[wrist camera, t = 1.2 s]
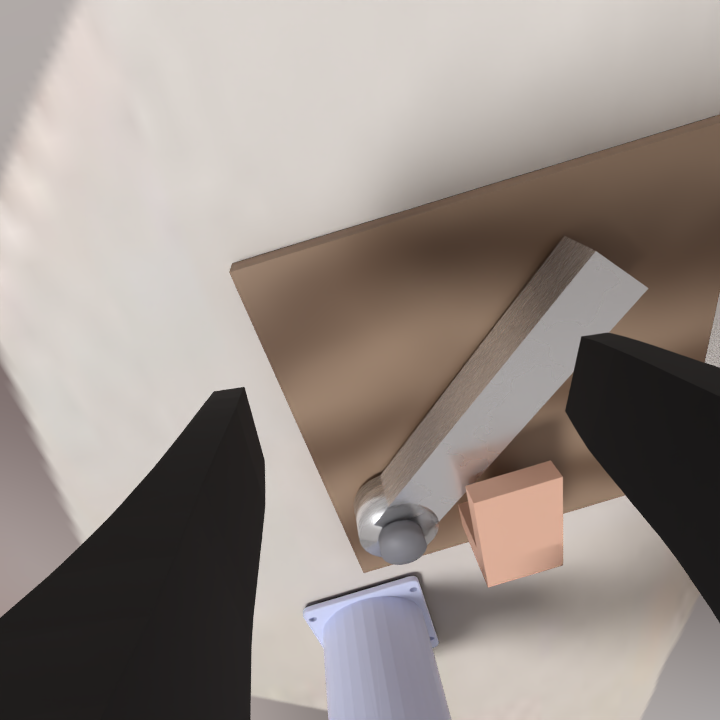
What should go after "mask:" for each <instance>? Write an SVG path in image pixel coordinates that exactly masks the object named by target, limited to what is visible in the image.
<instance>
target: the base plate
mask: <svg viewBox="0 0 720 720" xmlns="http://www.w3.org/2000/svg"><path fill="white" fill-rule="evenodd" d="M564 236H566V237H568V238H570V239H572V240H574V241H576V242H578V243H580V244H582V245H585V246H587V247H589V248H591V249H593V250H595V251H597V252H598V253H599V254H601V255H602V256H604V257H605V258H606V259H608V260H609V261H611V262H612V263H614V264H615V265H616V266H618V267H619V268H621V269H622V270H623V271H625V272H626V273H628V274H629V275H631V276H632V277H633V278H635V279H636V280H638V281H639V282H640V283H642V284H643V285H645V286H646V287H647V288H648V289H647V291H646V292H645V293H644V294H643V295H642V296H641V297H640V298H639V300H638V301H637V302H636V303H635V304H634V305H633V306H632V307H631V308H630V310H629V311H628V312H627V313H626V314H625V315H624V316H623V317H622V318H621V320H620V321H619V322H618V323H617V324H616V325H615V326H614V327H613V328H612V330H611V331H610V332H609V333H613V334H617V335H621V336H625V337H628V338H632V339H635V340H638V341H641V342H645V343H648V344H651V345H654V346H657V347H660V348H663V349H666V350H669V351H672V352H675V353H677V354H680V355H683V356H686V357H689V358H692V359H695V360H698V361H701V362H705V358H706V353H707V348H708V344H709V339H710V334H711V330H712V325H713V320H714V316H715V311H716V306H717V302H718V297H719V292H720V115H717V116H714V117H711V118H707V119H704V120H701V121H697V122H694V123H691V124H688V125H684V126H681V127H678V128H675V129H671V130H668V131H665V132H661V133H658V134H655V135H652V136H648V137H645V138H642V139H639V140H635V141H632V142H629V143H625V144H622V145H619V146H616V147H612V148H609V149H606V150H602V151H599V152H596V153H593V154H589V155H586V156H583V157H580V158H576V159H573V160H570V161H566V162H563V163H560V164H557V165H553V166H550V167H547V168H544V169H540V170H537V171H534V172H530V173H527V174H524V175H521V176H517V177H514V178H511V179H508V180H504V181H501V182H498V183H494V184H491V185H488V186H485V187H481V188H478V189H475V190H471V191H468V192H465V193H462V194H458V195H455V196H452V197H449V198H445V199H442V200H439V201H435V202H432V203H429V204H426V205H422V206H419V207H416V208H413V209H409V210H406V211H403V212H399V213H396V214H393V215H390V216H386V217H383V218H380V219H376V220H373V221H370V222H367V223H363V224H360V225H357V226H354V227H350V228H347V229H344V230H340V231H337V232H334V233H331V234H327V235H324V236H321V237H318V238H314V239H311V240H308V241H304V242H301V243H298V244H295V245H291V246H288V247H285V248H282V249H278V250H275V251H272V252H268V253H265V254H262V255H259V256H255V257H252V258H249V259H245V260H242V261H239V262H236V263H232V266H231V269H230V272H229V273H230V275H231V277H232V279H233V282H234V284H235V286H236V288H237V291H238V293H239V295H240V297H241V300H242V302H243V304H244V306H245V308H246V311H247V313H248V315H249V317H250V320H251V322H252V324H253V326H254V329H255V331H256V333H257V335H258V338H259V340H260V342H261V344H262V347H263V349H264V351H265V353H266V355H267V358H268V360H269V362H270V364H271V367H272V369H273V371H274V373H275V376H276V378H277V380H278V382H279V385H280V387H281V389H282V391H283V393H284V396H285V398H286V400H287V402H288V405H289V407H290V409H291V411H292V414H293V416H294V418H295V420H296V423H297V425H298V427H299V429H300V432H301V434H302V436H303V438H304V440H305V443H306V445H307V447H308V449H309V452H310V454H311V456H312V458H313V461H314V463H315V465H316V467H317V470H318V472H319V474H320V476H321V479H322V481H323V483H324V485H325V487H326V490H327V492H328V494H329V496H330V499H331V501H332V503H333V505H334V508H335V510H336V512H337V514H338V517H339V519H340V521H341V523H342V525H343V528H344V530H345V532H346V534H347V537H348V539H349V541H350V543H351V546H352V548H353V550H354V552H355V555H356V557H357V559H358V561H359V564H360V566H361V568H362V570H363V572H364V573H366V572H369V571H372V570H376V569H379V568H383V567H386V566H389V565H393V564H390V563H388V562H386V561H385V560H384V559H383V558H382V557H378V556H375V555H372V554H370V553H368V552H367V551H366V550H365V549H364V548H363V547H362V546H361V544H360V540H359V535H358V529H357V523H356V517H355V511H354V499H355V496H356V494H357V492H358V491H359V490H360V488H361V487H362V486H363V485H364V484H366V483H367V482H368V481H370V480H372V479H374V478H376V477H378V476H380V475H381V474H382V473H383V471H384V470H385V469H386V468H387V466H388V465H389V464H390V462H391V461H392V460H393V458H394V457H395V456H396V454H397V453H398V452H399V451H400V449H401V448H402V447H403V445H404V444H405V443H406V441H407V440H408V439H409V438H410V436H411V435H412V434H413V432H414V431H415V430H416V428H417V427H418V426H419V424H420V423H421V422H422V421H423V419H424V418H425V417H426V415H427V414H428V413H429V411H430V410H431V409H432V408H433V406H434V405H435V404H436V402H437V401H438V400H439V398H440V397H441V396H442V394H443V393H444V392H445V391H446V389H447V388H448V387H449V385H450V384H451V383H452V381H453V380H454V379H455V378H456V376H457V375H458V374H459V372H460V371H461V370H462V368H463V367H464V366H465V364H466V363H467V362H468V361H469V359H470V358H471V357H472V355H473V354H474V353H475V351H476V350H477V349H478V348H479V346H480V345H481V344H482V342H483V341H484V340H485V338H486V337H487V336H488V334H489V333H490V332H491V331H492V329H493V328H494V327H495V325H496V324H497V323H498V321H499V320H500V319H501V318H502V316H503V315H504V314H505V312H506V311H507V310H508V308H509V307H510V306H511V304H512V303H513V302H514V301H515V299H516V298H517V297H518V295H519V294H520V293H521V291H522V290H523V289H524V288H525V286H526V285H527V284H528V282H529V281H530V280H531V278H532V277H533V276H534V274H535V273H536V272H537V271H538V269H539V268H540V267H541V265H542V264H543V263H544V261H545V260H546V259H547V258H548V256H549V255H550V254H551V252H552V251H553V250H554V248H555V247H556V246H557V244H558V243H559V242H560V241H561V239H562V238H563V237H564ZM572 376H573V373H572V374H571V375H570V376H569V378H568V379H567V380H566V381H565V382H564V383H563V384H562V385H561V386H560V388H559V389H558V390H557V391H556V392H555V393H554V394H553V395H552V396H551V398H550V399H549V400H548V401H547V402H546V403H545V404H544V405H543V406H542V408H541V409H540V410H539V411H538V412H537V413H536V414H535V415H534V417H533V418H532V419H531V420H530V421H529V422H528V423H527V424H526V425H525V427H524V428H523V429H522V430H521V431H520V432H519V433H518V434H517V435H516V437H515V438H514V439H513V440H512V441H511V442H510V443H509V444H508V445H507V447H506V448H505V449H504V450H503V451H502V452H501V453H500V454H499V456H498V457H497V458H496V459H495V460H494V461H493V462H492V463H491V464H490V466H489V467H488V468H487V469H486V470H485V471H484V472H483V473H482V474H481V476H480V477H479V478H478V479H477V480H476V481H475V482H474V483H477V482H480V481H483V480H487V479H490V478H493V477H497V476H500V475H503V474H507V473H510V472H514V471H517V470H520V469H524V468H527V467H530V466H534V465H537V464H540V463H544V462H547V461H550V460H551V461H552V463H553V464H554V465H555V467H556V468H557V469H558V471H559V472H560V474H561V475H562V476H563V514H564V513H567V512H570V511H574V510H577V509H581V508H584V507H587V506H591V505H594V504H597V503H601V502H604V501H607V500H611V499H614V498H617V497H621V496H624V495H625V494H624V493H623V492H622V490H621V489H620V488H619V487H618V486H617V484H616V483H615V482H614V481H613V480H612V478H611V477H610V476H609V475H608V473H607V472H606V471H605V470H604V469H603V467H602V466H601V465H600V464H599V462H598V461H597V460H596V459H595V457H594V456H593V455H592V454H591V452H590V451H589V450H588V448H587V447H586V445H585V444H584V442H583V440H582V439H581V437H580V436H579V434H578V433H577V431H576V429H575V428H574V426H573V424H572V422H571V421H570V419H569V417H568V415H567V414H566V412H565V409H566V404H567V400H568V395H569V390H570V386H571V381H572ZM467 501H468V498H467V492H465V493H464V495H463V496H462V497H461V498H460V499H459V500H458V501H457V502H456V503H455V505H454V506H453V507H452V508H451V509H450V510H449V511H448V512H447V513H446V515H445V516H444V517H443V518H442V519H441V520H440V521H439V528H438V532H437V534H436V536H435V537H434V539H433V540H432V541H431V542H430V543H429V544H428V545H427V549H426V551H425V553H424V554H423V555H426V554H430V553H433V552H436V551H440V550H443V549H446V548H450V547H453V546H456V545H460V544H463V543H466V542H469V540H468V538H467V535H466V533H465V531H464V528H463V526H462V521H461V516H460V511H459V506H458V504H460V503H464V502H467ZM423 555H422V556H423Z"/></svg>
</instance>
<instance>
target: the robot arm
mask: <svg viewBox="0 0 720 720" xmlns="http://www.w3.org/2000/svg"><path fill="white" fill-rule="evenodd" d="M565 412H566V414H567V415H568V417H569V419H570V421H571V422H572V424H573V426H574V428H575V429H576V431H577V433H578V434H579V436H580V437H581V439H582V440H583V442H584V444H585V445H586V447H587V448H588V450H589V451H590V452H591V454H592V455H593V456H594V457H595V459H596V460H597V461H598V462H599V464H600V465H601V466H602V467H603V469H604V470H605V471H606V472H607V473H608V475H609V476H610V477H611V478H612V480H613V481H614V482H615V483H616V484H617V486H618V487H619V488H620V489H621V490H622V492H623V493H624V494H625V495H626V496H627V498H628V499H629V500H630V501H631V502H632V504H633V505H634V506H635V507H636V508H637V510H638V511H639V512H640V513H641V515H642V516H643V517H644V518H645V519H646V521H647V522H648V523H649V524H650V525H651V527H652V528H653V529H654V530H655V531H656V533H657V534H658V535H659V536H660V537H661V539H662V540H663V541H664V543H665V544H666V545H667V547H668V548H669V549H670V550H671V552H672V553H673V554H674V556H675V557H676V558H677V560H678V561H679V563H680V564H681V566H682V567H683V568H684V570H685V571H686V573H687V574H688V576H689V577H690V579H691V580H692V582H693V583H694V585H695V586H696V588H697V589H698V591H699V592H700V593H701V595H702V596H703V598H704V599H705V601H706V602H707V604H708V605H709V607H710V608H711V610H712V611H713V613H714V614H715V616H716V618H717V619H718V620H719V622H720V368H719V367H716V366H713V365H710V364H707V363H704V362H701V361H698V360H695V359H692V358H689V357H686V356H683V355H680V354H677V353H675V352H672V351H669V350H666V349H663V348H660V347H657V346H654V345H651V344H648V343H645V342H641V341H638V340H635V339H632V338H628V337H625V336H621V335H617V334H613V333H608V332H607V333H601V334H594V335H587V336H581V340H580V344H579V349H578V353H577V358H576V363H575V367H574V372H573V376H572V381H571V386H570V390H569V395H568V400H567V404H566V409H565ZM264 513H265V460H264V457H263V453H262V449H261V446H260V442H259V438H258V435H257V431H256V428H255V424H254V420H253V417H252V413H251V409H250V406H249V402H248V398H247V395H246V391H245V387H241V388H234V389H228V390H221V391H214V392H213V393H212V395H211V396H210V397H209V398H208V400H207V401H206V402H205V403H204V405H203V406H202V407H201V408H200V410H199V411H198V412H197V414H196V415H195V416H194V418H193V419H192V420H191V421H190V423H189V424H188V425H187V427H186V428H185V429H184V431H183V432H182V433H181V434H180V436H179V437H178V438H177V440H176V441H175V442H174V443H173V444H172V446H171V447H170V448H169V449H168V451H167V452H166V453H165V454H164V456H163V457H162V458H161V459H160V461H159V462H158V463H157V464H156V465H155V467H154V468H153V469H152V470H151V471H150V472H149V474H148V475H147V476H146V477H145V478H144V479H143V480H142V481H141V483H140V484H139V485H138V486H137V487H136V488H135V489H134V490H133V492H132V493H131V494H130V495H129V496H128V497H127V498H126V499H125V501H124V502H123V503H122V504H121V505H120V506H119V507H118V508H117V510H116V511H115V512H114V513H113V514H112V515H111V516H110V517H109V518H108V519H107V520H106V521H105V522H104V523H103V524H102V525H101V526H100V527H99V528H98V529H97V530H96V531H95V532H94V533H93V534H92V535H91V536H90V537H89V538H88V539H87V540H86V541H85V542H84V543H83V544H82V545H81V546H80V547H79V548H78V549H77V550H76V551H75V552H74V553H73V554H71V556H69V557H68V558H67V559H66V560H65V561H64V562H63V563H62V564H61V565H60V566H59V567H58V568H57V569H56V570H55V571H53V572H52V573H51V574H50V575H49V576H48V577H47V578H46V579H45V580H44V581H42V582H41V583H40V584H39V585H38V586H37V587H35V588H34V589H33V590H32V591H31V592H30V593H29V594H27V595H26V596H25V597H24V598H23V599H22V600H20V601H19V602H18V603H17V604H16V605H15V606H13V607H12V608H11V609H10V610H9V611H8V612H6V613H5V614H4V615H3V616H2V617H1V618H0V720H250V700H251V644H252V629H253V615H254V606H255V597H256V587H257V578H258V569H259V560H260V551H261V542H262V532H263V523H264ZM303 617H304V619H305V620H306V622H307V623H308V625H309V627H310V628H311V630H312V631H313V633H314V634H315V636H316V637H317V639H318V640H319V642H320V644H321V645H322V647H323V648H324V661H325V676H326V690H327V704H328V719H329V720H451V716H450V712H449V708H448V705H447V701H446V697H445V694H444V690H443V686H442V682H441V679H440V675H439V671H438V667H437V664H436V660H435V656H434V652H433V649H432V648H434V647H436V646H438V644H439V641H438V638H437V635H436V632H435V629H434V626H433V623H432V620H431V617H430V614H429V611H428V608H427V605H426V602H425V599H424V596H423V592H422V589H421V586H420V583H419V580H418V578H417V577H415V576H409V577H406V578H402V579H399V580H395V581H392V582H389V583H385V584H382V585H379V586H375V587H372V588H369V589H365V590H362V591H358V592H355V593H352V594H348V595H345V596H342V597H338V598H335V599H332V600H328V601H325V602H322V603H318V604H315V605H311V606H308V607H306V608H305V609H304V610H303Z"/></svg>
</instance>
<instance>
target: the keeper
mask: <svg viewBox="0 0 720 720" xmlns="http://www.w3.org/2000/svg"><path fill="white" fill-rule="evenodd" d="M465 487H466V492H467V498H468V501H467V502H464V503H460V504H458V506H459V511H460V516H461V521H462V526H463V528H464V531H465V533H466V535H467V538H468V540H469V543H470V545H471V547H472V550H473V552H474V555H475V557H476V559H477V562H478V564H479V567H480V569H481V571H482V574H483V576H484V579H485V581H486V583H487V586H488V587H491V586H495V585H498V584H502V583H505V582H508V581H512V580H515V579H518V578H522V577H525V576H529V575H532V574H535V573H539V572H542V571H545V570H549V569H552V568H555V567H559V566H562V565H563V476H562V475H561V474H560V472H559V471H558V469H557V468H556V467H555V465H554V464H553V463H552V461H551V460H550V461H547V462H544V463H540V464H537V465H534V466H530V467H527V468H524V469H520V470H517V471H514V472H510V473H507V474H503V475H500V476H497V477H493V478H490V479H487V480H483V481H480V482H477V483H473V484H470V485H467V486H465ZM378 541H379V546H380V551H381V555H382V558H383V559H384V560H385V561H386V562H388V563H390V564H395V565H402V564H407V563H411V562H413V561H415V560H417V559H418V558H420V557H421V556H422V555H423V554H424V553H425V551H426V549H427V543H426V540H425V537H424V534H423V530H422V528H421V526H420V525H419V524H418V523H416V522H414V521H409V520H402V521H397V522H393V523H391V524H389V525H387V526H386V527H385V528H383V529H382V531H381V532H380V534H379V536H378Z"/></svg>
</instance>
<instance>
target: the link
mask: <svg viewBox="0 0 720 720" xmlns="http://www.w3.org/2000/svg"><path fill="white" fill-rule="evenodd" d="M647 289H648V288H647V287H646V286H645V285H643V284H642V283H640V282H639V281H638V280H636V279H635V278H633V277H632V276H631V275H629V274H628V273H626V272H625V271H623V270H622V269H621V268H619V267H618V266H616V265H615V264H614V263H612V262H611V261H609V260H608V259H606V258H605V257H604V256H602V255H601V254H599V253H598V252H597V251H595V250H593V249H591V248H589V247H587V246H585V245H582V244H580V243H578V242H576V241H574V240H572V239H570V238H568V237H566V236H564V237H563V238H562V239H561V241H560V242H559V243H558V244H557V246H556V247H555V248H554V250H553V251H552V252H551V254H550V255H549V256H548V258H547V259H546V260H545V261H544V263H543V264H542V265H541V267H540V268H539V269H538V271H537V272H536V273H535V274H534V276H533V277H532V278H531V280H530V281H529V282H528V284H527V285H526V286H525V288H524V289H523V290H522V291H521V293H520V294H519V295H518V297H517V298H516V299H515V301H514V302H513V303H512V304H511V306H510V307H509V308H508V310H507V311H506V312H505V314H504V315H503V316H502V318H501V319H500V320H499V321H498V323H497V324H496V325H495V327H494V328H493V329H492V331H491V332H490V333H489V334H488V336H487V337H486V338H485V340H484V341H483V342H482V344H481V345H480V346H479V348H478V349H477V350H476V351H475V353H474V354H473V355H472V357H471V358H470V359H469V361H468V362H467V363H466V364H465V366H464V367H463V368H462V370H461V371H460V372H459V374H458V375H457V376H456V378H455V379H454V380H453V381H452V383H451V384H450V385H449V387H448V388H447V389H446V391H445V392H444V393H443V394H442V396H441V397H440V398H439V400H438V401H437V402H436V404H435V405H434V406H433V408H432V409H431V410H430V411H429V413H428V414H427V415H426V417H425V418H424V419H423V421H422V422H421V423H420V424H419V426H418V427H417V428H416V430H415V431H414V432H413V434H412V435H411V436H410V438H409V439H408V440H407V441H406V443H405V444H404V445H403V447H402V448H401V449H400V451H399V452H398V453H397V454H396V456H395V457H394V458H393V460H392V461H391V462H390V464H389V465H388V466H387V468H386V469H385V470H384V471H383V473H382V474H381V475H380V476H378V477H376V478H374V479H372V480H370V481H368V482H367V483H366V484H364V485H363V486H362V487H361V488H360V490H359V491H358V492H357V494H356V496H355V499H354V511H355V517H356V523H357V529H358V535H359V540H360V544H361V546H362V547H363V548H364V549H365V550H366V551H367V552H368V553H370V554H372V555H375V556H378V557H382V555H381V551H380V546H379V541H378V536H379V534H380V532H381V531H382V529H383V528H385V527H386V526H387V525H389V524H391V523H393V522H397V521H402V520H409V521H414V522H416V523H418V524H419V525H420V526H421V528H422V530H423V534H424V537H425V540H426V543H427V545H428V544H429V543H430V542H431V541H432V540H433V539H434V537H435V536H436V534H437V532H438V528H439V521H440V520H441V519H442V518H443V517H444V516H445V515H446V513H447V512H448V511H449V510H450V509H451V508H452V507H453V506H454V505H455V503H456V502H457V501H458V500H459V499H460V498H461V497H462V496H463V495H464V493H465V492H466V487H465V486H467V485H470V484H473V483H474V482H475V481H476V480H477V479H478V478H479V477H480V476H481V474H482V473H483V472H484V471H485V470H486V469H487V468H488V467H489V466H490V464H491V463H492V462H493V461H494V460H495V459H496V458H497V457H498V456H499V454H500V453H501V452H502V451H503V450H504V449H505V448H506V447H507V445H508V444H509V443H510V442H511V441H512V440H513V439H514V438H515V437H516V435H517V434H518V433H519V432H520V431H521V430H522V429H523V428H524V427H525V425H526V424H527V423H528V422H529V421H530V420H531V419H532V418H533V417H534V415H535V414H536V413H537V412H538V411H539V410H540V409H541V408H542V406H543V405H544V404H545V403H546V402H547V401H548V400H549V399H550V398H551V396H552V395H553V394H554V393H555V392H556V391H557V390H558V389H559V388H560V386H561V385H562V384H563V383H564V382H565V381H566V380H567V379H568V378H569V376H570V375H571V374H572V373H573V372H574V367H575V363H576V358H577V353H578V349H579V344H580V340H581V336H587V335H594V334H601V333H607V332H608V333H609V332H610V331H611V330H612V328H613V327H614V326H615V325H616V324H617V323H618V322H619V321H620V320H621V318H622V317H623V316H624V315H625V314H626V313H627V312H628V311H629V310H630V308H631V307H632V306H633V305H634V304H635V303H636V302H637V301H638V300H639V298H640V297H641V296H642V295H643V294H644V293H645V292H646V291H647Z"/></svg>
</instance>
